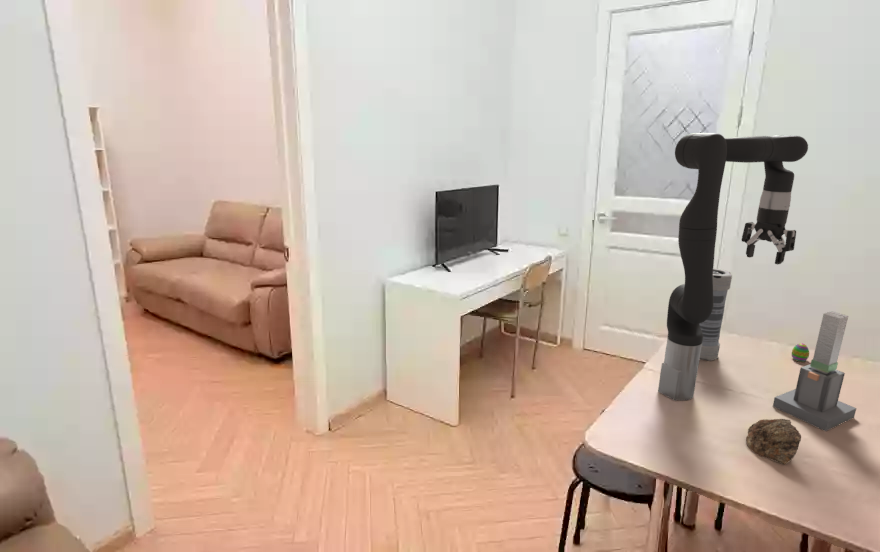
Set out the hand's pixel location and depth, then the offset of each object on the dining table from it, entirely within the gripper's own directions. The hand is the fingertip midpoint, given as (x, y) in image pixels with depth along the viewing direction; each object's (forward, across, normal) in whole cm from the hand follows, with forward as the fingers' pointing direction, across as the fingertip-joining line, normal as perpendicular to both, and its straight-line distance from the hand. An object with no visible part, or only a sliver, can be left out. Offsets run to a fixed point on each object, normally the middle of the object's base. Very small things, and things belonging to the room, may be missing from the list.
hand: (763, 260), depth 159 cm
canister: (+38, -16, +2) cm, 42 cm away
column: (+29, +23, -3) cm, 37 cm away
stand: (+38, +23, -3) cm, 45 cm away
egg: (+38, +2, +28) cm, 48 cm away
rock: (+38, +27, -31) cm, 56 cm away
